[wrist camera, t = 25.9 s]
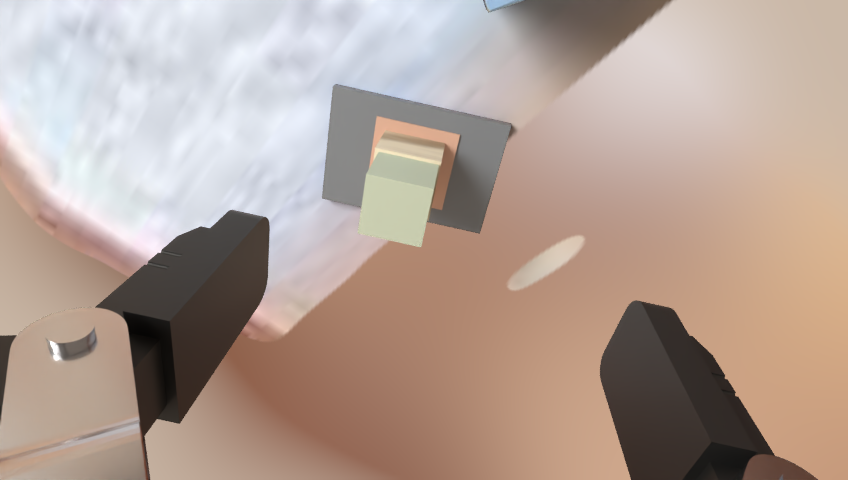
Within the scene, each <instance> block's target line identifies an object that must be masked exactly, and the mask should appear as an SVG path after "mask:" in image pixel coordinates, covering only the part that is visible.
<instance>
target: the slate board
mask: <svg viewBox="0 0 848 480" xmlns="http://www.w3.org/2000/svg"><path fill="white" fill-rule="evenodd" d="M510 129H511V123H507V122H502V121H498V120H493V119H489V118H484V117H480V116H476V115H471V114H467V113H462V112H458V111H453V110H449V109H444V108H440V107H436V106H431V105H427V104H422V103H418V102H413V101H409V100H404V99H400V98H396V97H391V96H387V95H382V94H378V93H373V92H369V91H364V90H360V89H356V88H351V87H347V86H342V85H338V84H335V85H334V86H333V91H332V101H331V112H330V122H329V132H328V143H327V153H326V163H325V173H324V184H323V194H322V199H327V200H331V201H336V202H340V203H345V204H349V205H354V206H358V207H362V200H363V193H364V185H365V178H366V173H367V172H368V170H369V168H370V166H371V164H372V163H373V159H374V152H375V147H376V145H377V144H378V142H379V140H380V139H381V137H382V135H383V134H384V132H385V130H387V131H391V132H396V133H400V134H405V135H410V136H414V137H419V138H423V139H428V140H433V141H437V142H442V143H445V147H444V152H443V157H442V162H441V167H440V171H439V176H438V180H437V185H436V189H435V194H434V198H433V203H432V208H431V212H430V217H429V221H427V222H430V223H435V224H439V225H444V226H448V227H453V228H457V229H462V230H466V231H471V232H475V233H480V231H481V227H482V224H483V221H484V217H485V213H486V210H487V207H488V204H489V200H490V197H491V193H492V190H493V187H494V183H495V180H496V176H497V173H498V170H499V166H500V163H501V159H502V156H503V153H504V149H505V146H506V142H507V139H508V136H509V132H510Z"/></svg>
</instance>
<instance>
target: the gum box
mask: <svg viewBox="0 0 848 480" xmlns="http://www.w3.org/2000/svg"><path fill="white" fill-rule="evenodd" d="M483 1H484V4H485V7H486V10H487V11H488V12H492V11H495V10H498V9H501V8H504V7H507V6H510V5H513V4H516V3H519V2H522V1H524V0H483Z"/></svg>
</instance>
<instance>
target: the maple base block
mask: <svg viewBox="0 0 848 480" xmlns="http://www.w3.org/2000/svg"><path fill="white" fill-rule="evenodd" d="M444 147H445V143H442V142H437V141H433V140H428V139H423V138H419V137H414V136H410V135H405V134H400V133H396V132H391V131H387V130H385V132H384V134H383V135H382V137H381V139H380V140H379V142H378V144H377V145H376V147H375V152H374V159H375V157H376V156H377V154H378V152H383V153H387V154H392V155H396V156H401V157H405V158H410V159H414V160H419V161H423V162H428V163H433V164H437V165H439V167H438V172H437V177H436V182H435V186H434V191H433V196H432V200H431V205H430V209H429V214H428V218H427V221H429V217H430V212H431V208H432V203H433V198H434V194H435V189H436V185H437V180H438V176H439V171H440V167H441V162H442V157H443V152H444ZM374 159H373V161H374Z"/></svg>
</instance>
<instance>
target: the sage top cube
mask: <svg viewBox="0 0 848 480" xmlns="http://www.w3.org/2000/svg"><path fill="white" fill-rule="evenodd" d="M438 167H439V165H437V164H433V163H428V162H423V161H419V160H414V159H410V158H405V157H401V156H396V155H392V154H387V153H383V152H378V154H377V156H376V157H375V159H374V161H373V163H372V164H371V166H370V168H369V170H368V172H367V173H366V178H365V185H364V193H363V200H362V207H361V214H360V221H359V228H358V234H363V235H367V236H372V237H377V238H381V239H386V240H390V241H395V242H399V243H404V244H408V245H413V246H418V247H421V245H422V240H423V236H424V231H425V227H426V223H427V218H428V214H429V209H430V205H431V200H432V196H433V191H434V186H435V182H436V177H437V172H438Z"/></svg>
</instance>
